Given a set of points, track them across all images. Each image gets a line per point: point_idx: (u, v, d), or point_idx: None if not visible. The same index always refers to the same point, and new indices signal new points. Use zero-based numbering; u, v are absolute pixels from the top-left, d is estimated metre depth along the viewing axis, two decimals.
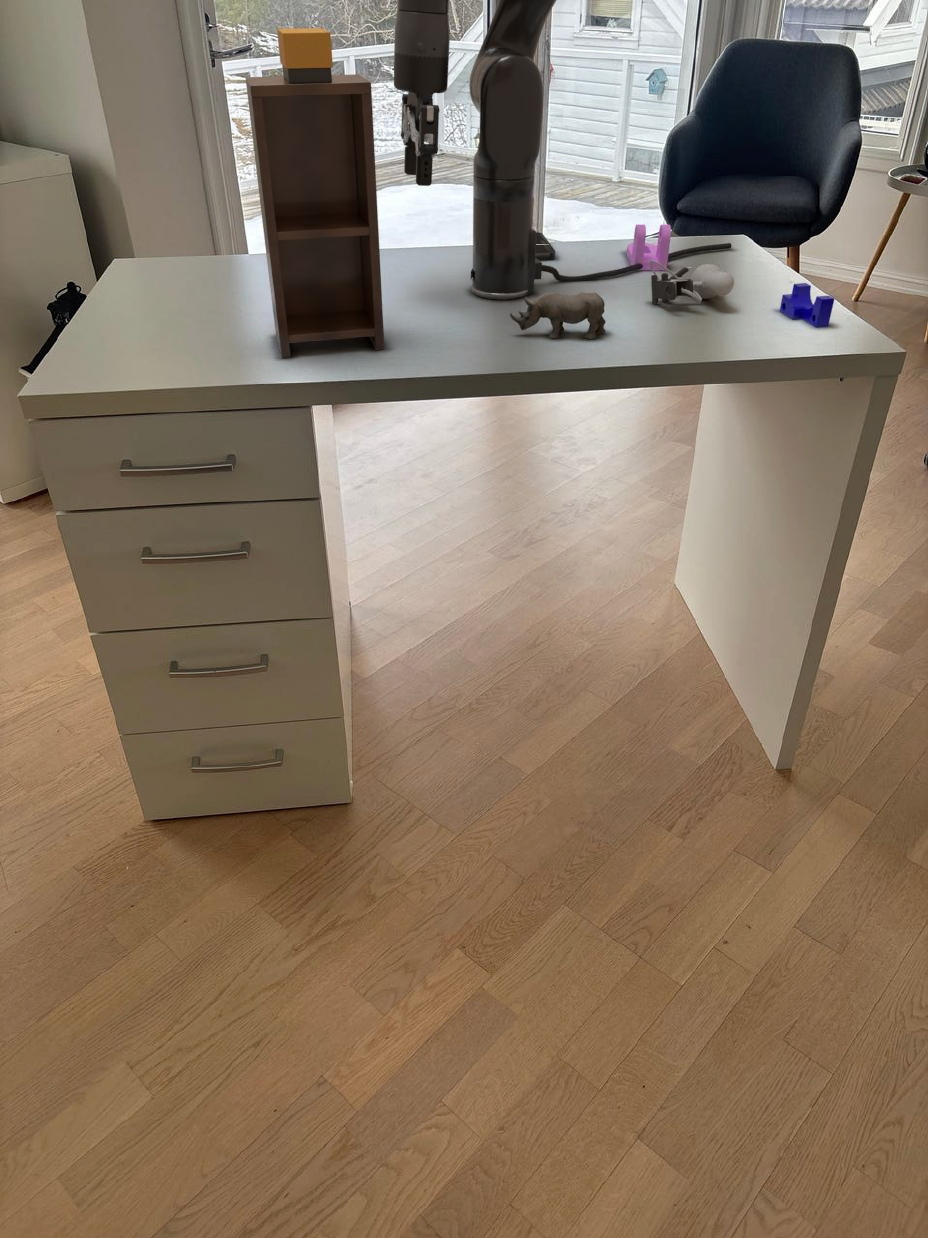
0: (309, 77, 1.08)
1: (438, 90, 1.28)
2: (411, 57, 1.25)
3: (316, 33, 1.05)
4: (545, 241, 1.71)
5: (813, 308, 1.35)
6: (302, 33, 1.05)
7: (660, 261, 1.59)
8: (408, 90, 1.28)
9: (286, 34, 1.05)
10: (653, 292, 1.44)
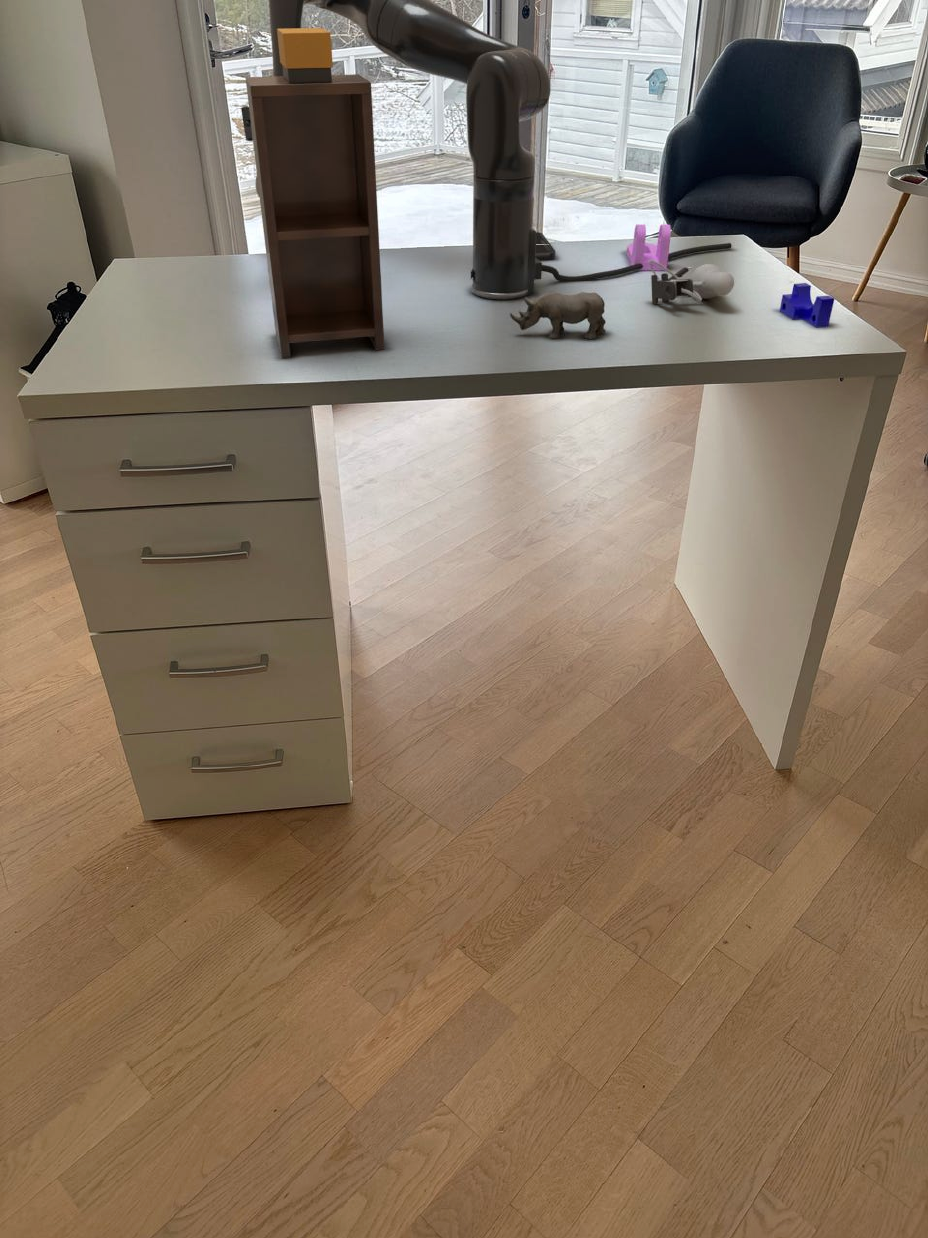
0: (309, 77, 1.08)
1: None
2: None
3: (316, 33, 1.05)
4: (545, 241, 1.71)
5: (813, 308, 1.35)
6: (302, 33, 1.05)
7: (660, 261, 1.59)
8: None
9: (286, 34, 1.05)
10: (653, 292, 1.44)
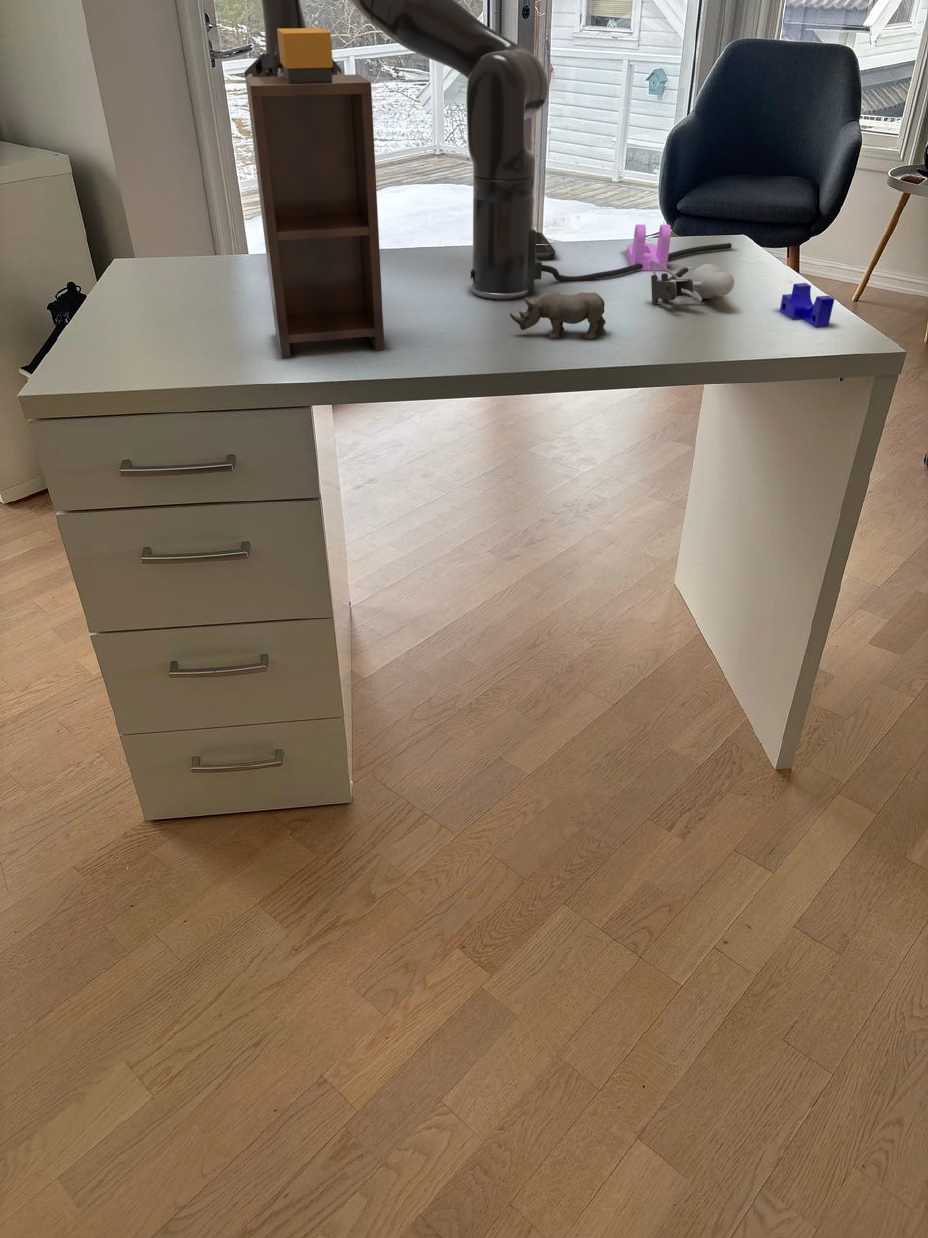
0: (309, 77, 1.08)
1: None
2: None
3: (316, 33, 1.05)
4: (545, 241, 1.71)
5: (813, 308, 1.35)
6: (302, 33, 1.05)
7: (660, 261, 1.59)
8: None
9: (286, 34, 1.05)
10: (653, 292, 1.44)
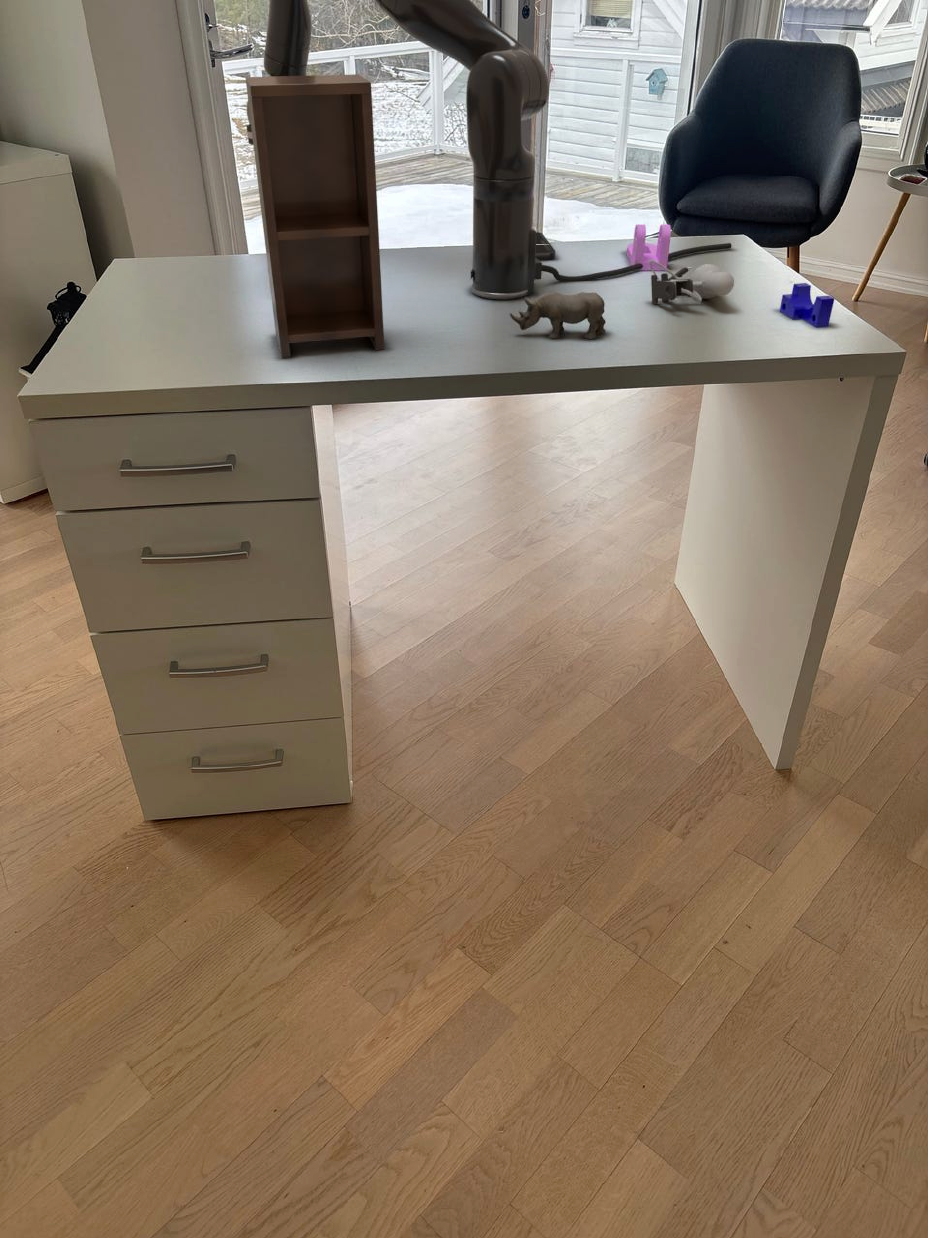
0: None
1: None
2: None
3: None
4: (545, 241, 1.71)
5: (813, 308, 1.35)
6: None
7: (660, 261, 1.59)
8: None
9: None
10: (653, 292, 1.44)
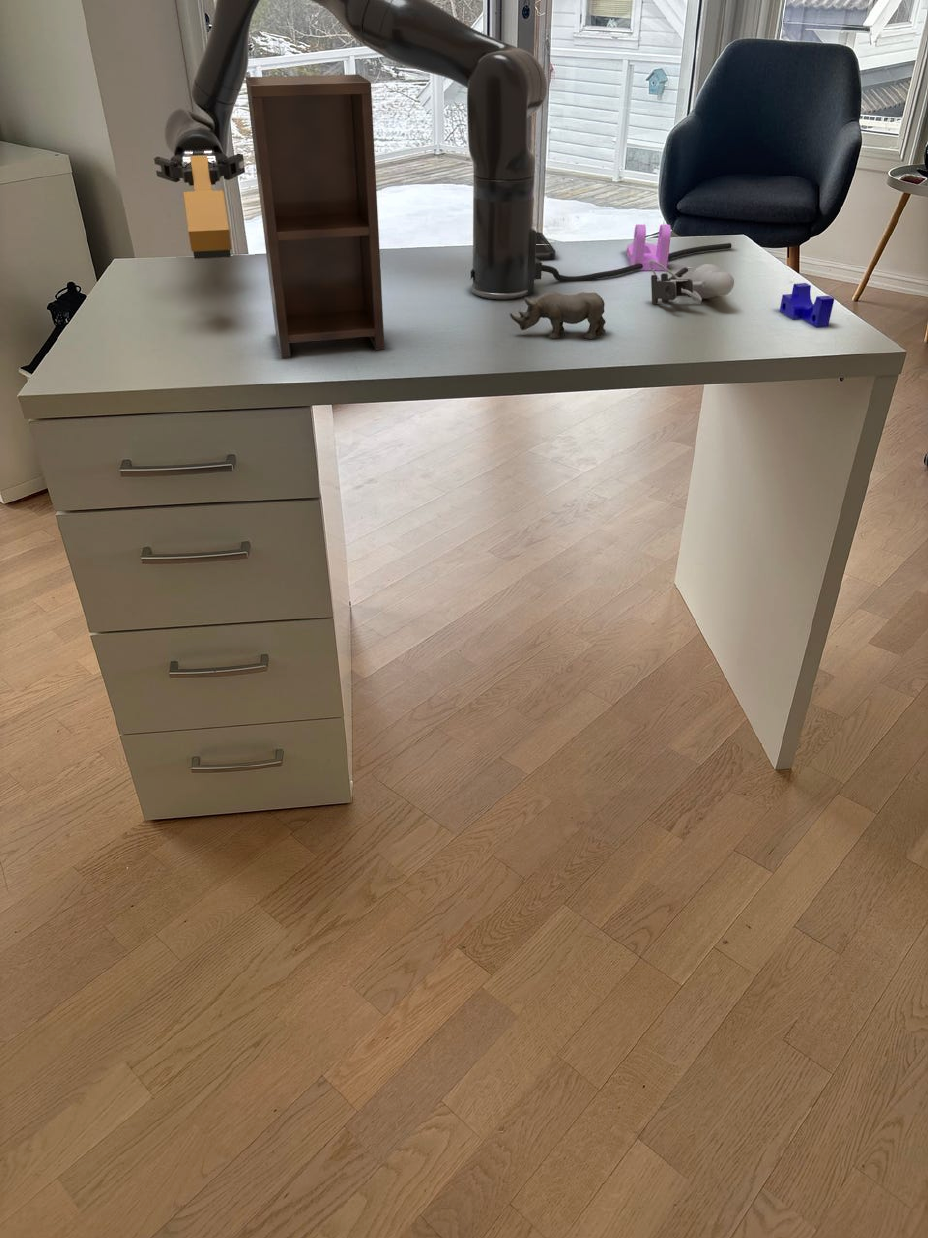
0: (211, 255, 1.30)
1: (175, 148, 1.41)
2: None
3: (217, 231, 1.26)
4: (545, 241, 1.71)
5: (813, 308, 1.35)
6: (205, 231, 1.26)
7: (660, 261, 1.59)
8: None
9: (191, 232, 1.25)
10: (653, 292, 1.44)
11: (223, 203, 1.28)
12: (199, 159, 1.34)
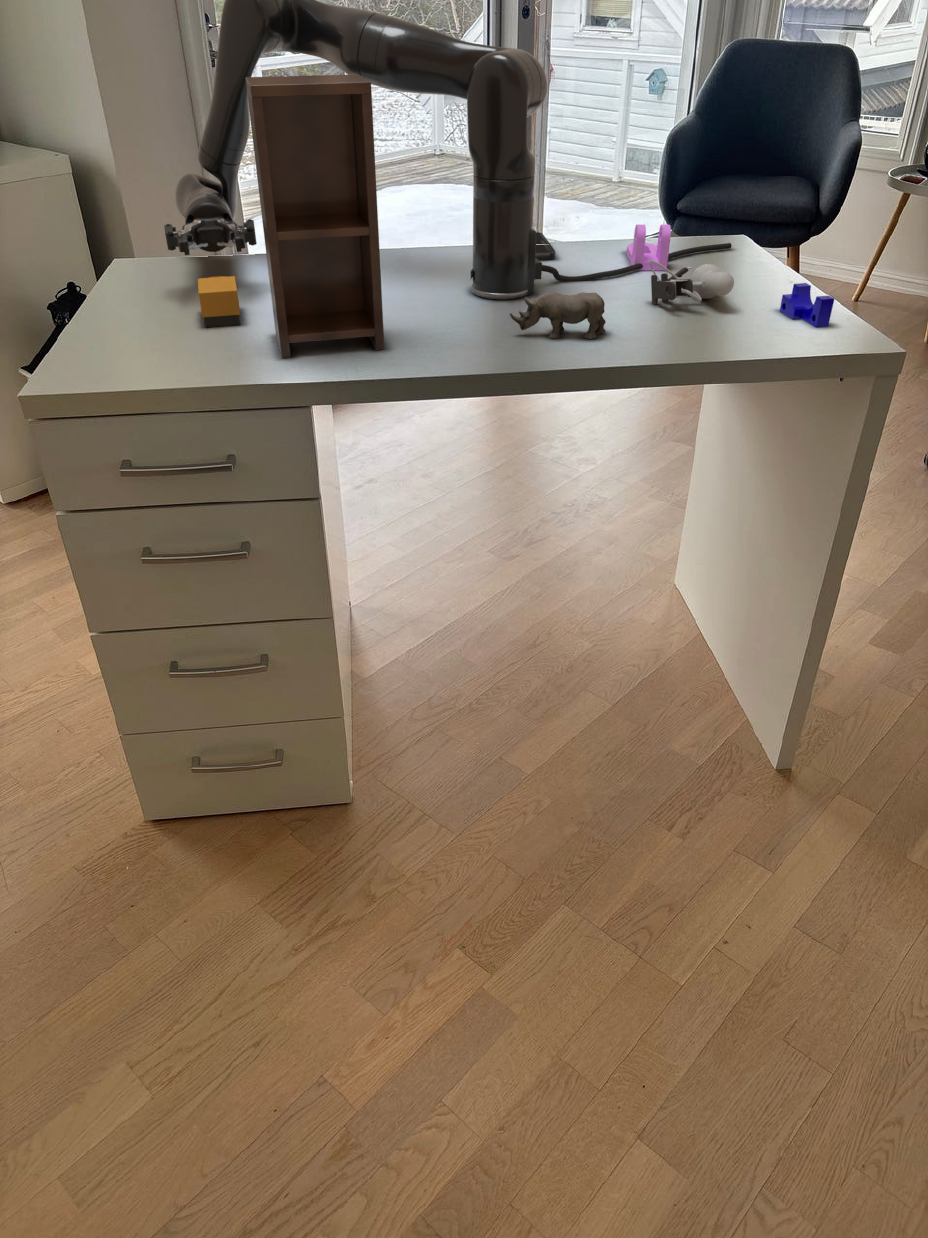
0: (221, 322, 1.35)
1: (187, 216, 1.46)
2: None
3: (225, 291, 1.33)
4: (545, 241, 1.71)
5: (813, 308, 1.35)
6: (214, 292, 1.33)
7: (660, 261, 1.59)
8: None
9: (201, 293, 1.32)
10: (653, 292, 1.44)
11: (233, 280, 1.37)
12: None
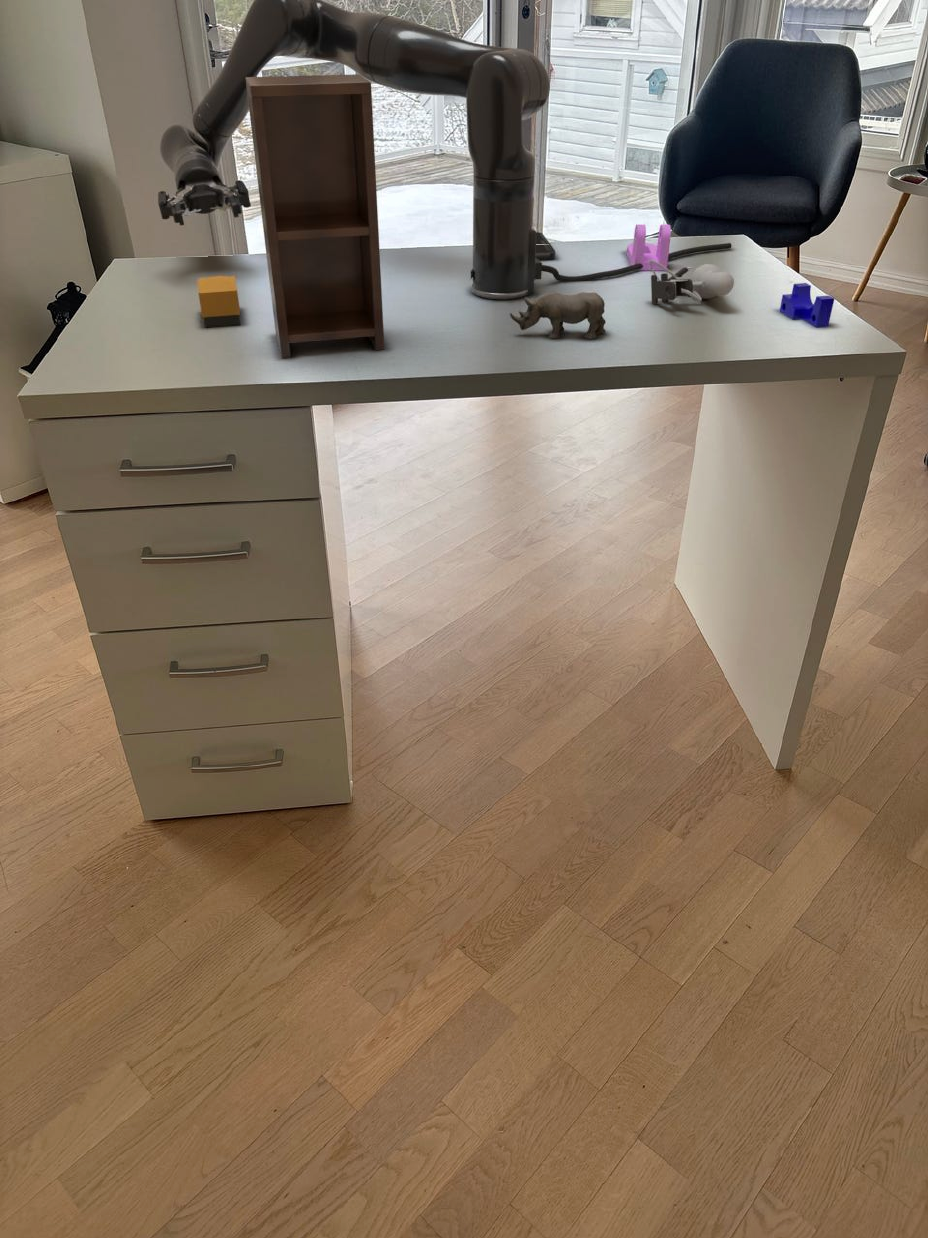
0: (221, 322, 1.35)
1: (178, 181, 1.52)
2: None
3: (225, 291, 1.33)
4: (545, 241, 1.71)
5: (813, 308, 1.35)
6: (214, 292, 1.33)
7: (660, 261, 1.59)
8: None
9: (201, 293, 1.32)
10: (653, 292, 1.44)
11: (233, 280, 1.37)
12: None
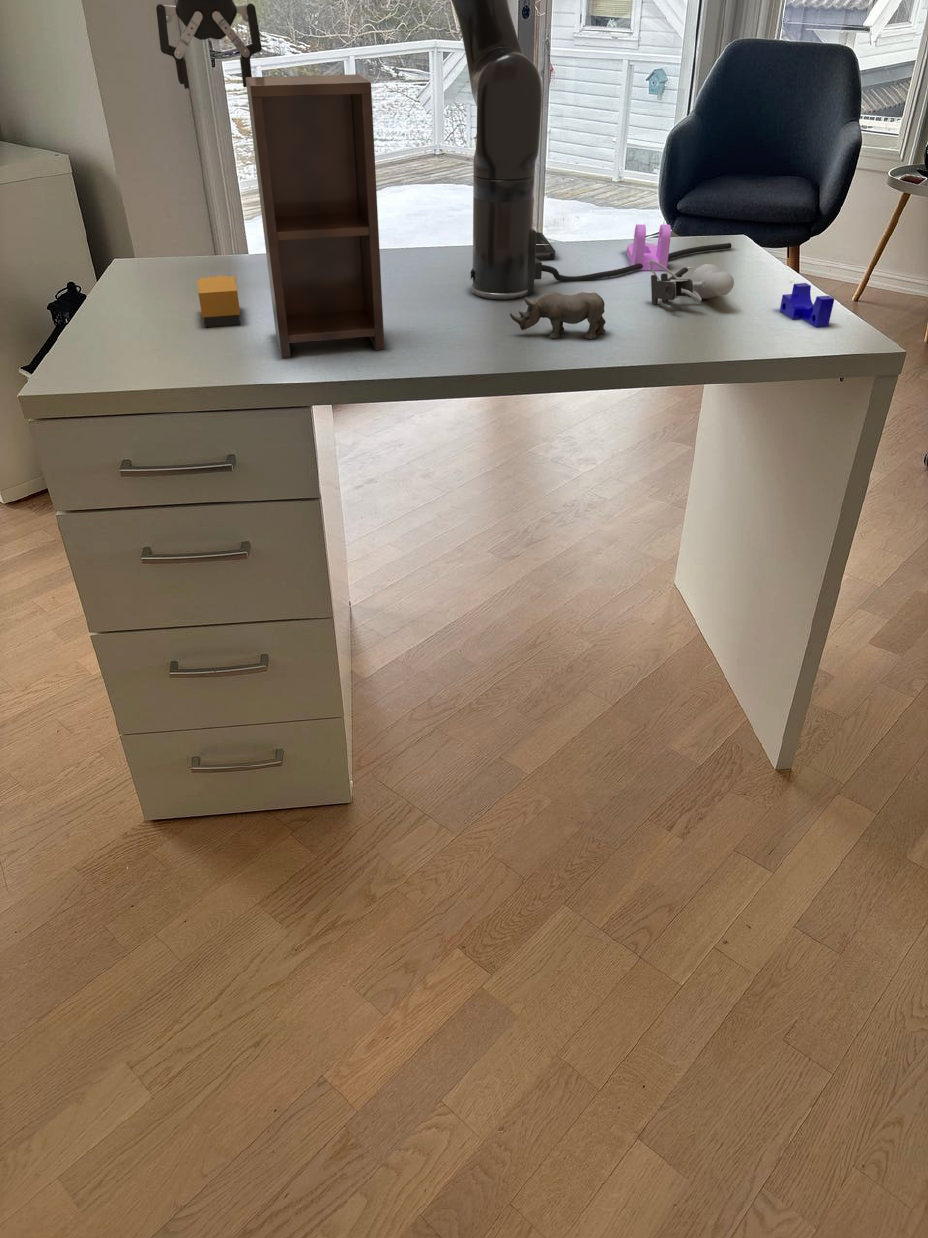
0: (221, 322, 1.35)
1: None
2: None
3: (225, 291, 1.33)
4: (545, 241, 1.71)
5: (813, 308, 1.35)
6: (214, 292, 1.33)
7: (660, 261, 1.59)
8: None
9: (201, 293, 1.32)
10: (653, 292, 1.44)
11: (233, 280, 1.37)
12: None
